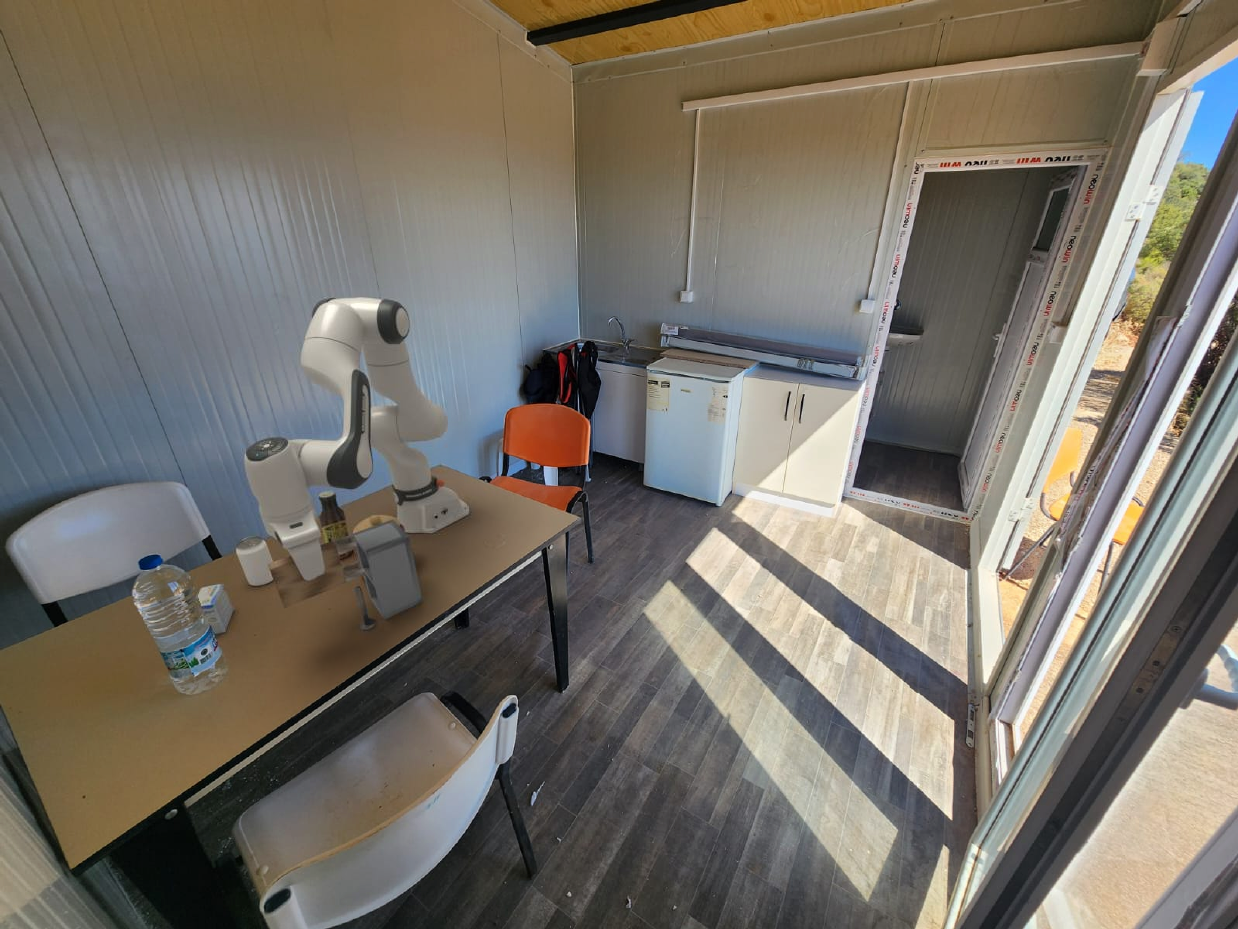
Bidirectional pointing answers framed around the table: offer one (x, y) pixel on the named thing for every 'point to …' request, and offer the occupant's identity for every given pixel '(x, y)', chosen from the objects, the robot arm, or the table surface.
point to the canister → (372, 522)
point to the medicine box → (216, 606)
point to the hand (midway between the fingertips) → (309, 573)
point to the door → (334, 575)
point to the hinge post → (364, 612)
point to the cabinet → (388, 568)
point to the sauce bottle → (333, 519)
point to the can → (255, 560)
